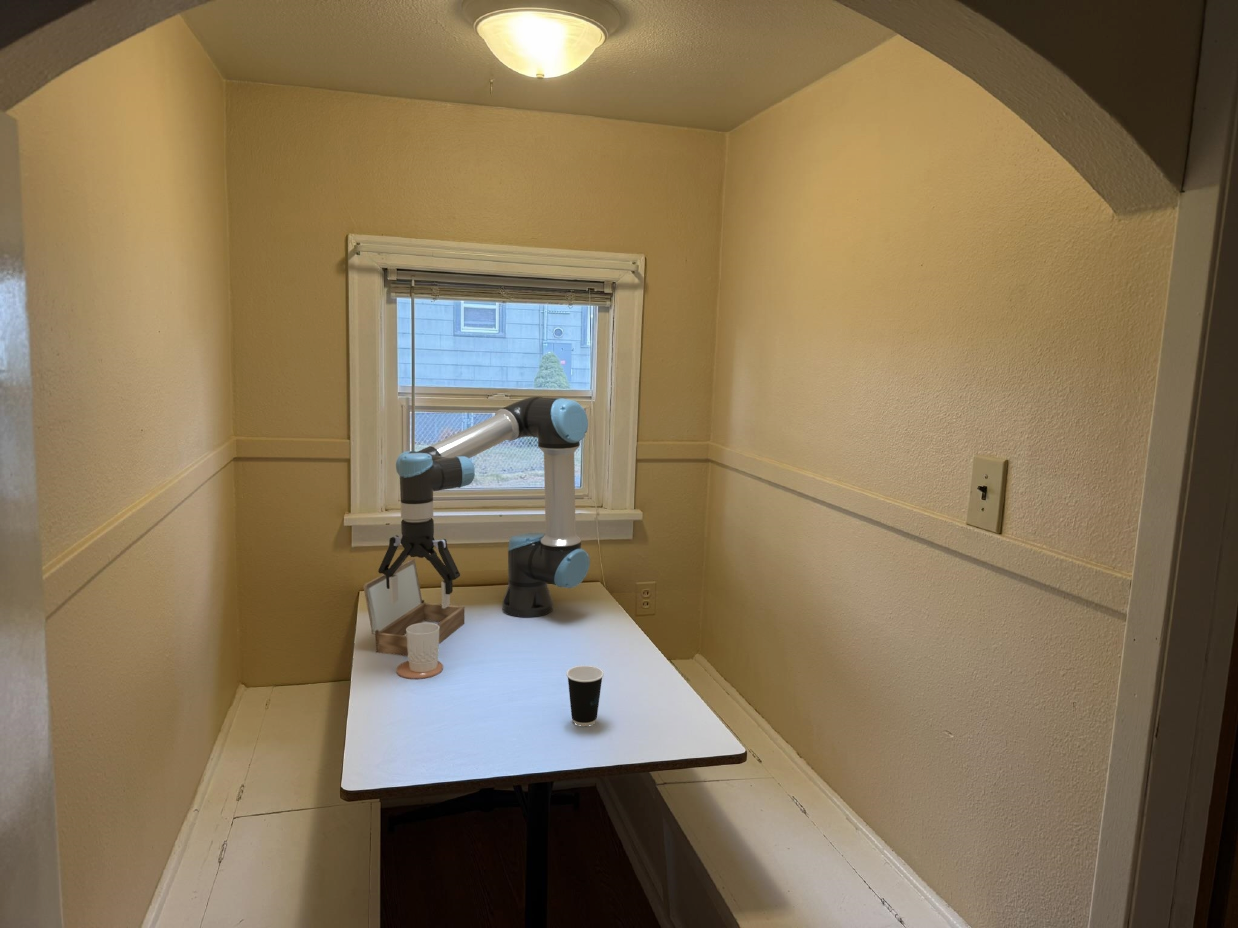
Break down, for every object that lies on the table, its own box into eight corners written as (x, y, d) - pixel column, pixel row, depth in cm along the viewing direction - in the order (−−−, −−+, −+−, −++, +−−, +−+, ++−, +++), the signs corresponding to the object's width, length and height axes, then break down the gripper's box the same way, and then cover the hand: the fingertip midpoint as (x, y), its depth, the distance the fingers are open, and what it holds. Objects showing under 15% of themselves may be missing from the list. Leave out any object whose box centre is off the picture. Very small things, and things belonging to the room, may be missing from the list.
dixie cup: (565, 713, 173) (565, 665, 172) (601, 712, 174) (602, 664, 172) (566, 730, 165) (566, 680, 164) (604, 729, 166) (605, 680, 165)
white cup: (400, 667, 194) (399, 628, 192) (426, 658, 200) (425, 620, 198) (420, 676, 189) (420, 636, 188) (446, 666, 195) (446, 627, 194)
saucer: (450, 663, 198) (450, 661, 198) (430, 681, 188) (430, 678, 188) (410, 658, 201) (410, 656, 201) (388, 676, 190) (388, 673, 190)
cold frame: (464, 623, 227) (464, 604, 226) (422, 657, 202) (421, 635, 201) (422, 619, 230) (422, 599, 229) (375, 652, 205) (375, 630, 204)
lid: (414, 558, 228) (411, 559, 228) (366, 584, 202) (363, 585, 203) (422, 602, 229) (419, 602, 229) (375, 633, 204) (372, 633, 204)
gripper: (472, 518, 189) (474, 603, 193) (378, 511, 195) (381, 594, 198) (459, 525, 182) (461, 613, 186) (361, 518, 188) (365, 604, 191)
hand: (419, 604), depth 192 cm, fingers open, 13 cm apart
